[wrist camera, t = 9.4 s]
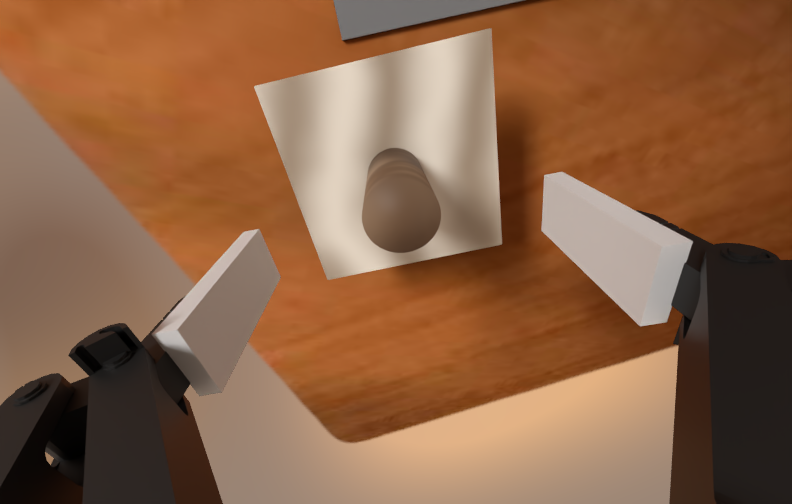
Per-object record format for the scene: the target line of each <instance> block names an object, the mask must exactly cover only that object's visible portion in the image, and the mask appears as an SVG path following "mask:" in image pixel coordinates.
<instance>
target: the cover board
mask: <svg viewBox="0 0 792 504" xmlns="http://www.w3.org/2000/svg"><path fill="white" fill-rule="evenodd" d="M254 88H255V90H256V93H257V96H258V98H259V101H260V104H261V106H262V109H263V111H264V114H265V117H266V119H267V122H268V125H269V127H270V130H271V132H272V135H273V138H274V140H275V143H276V146H277V148H278V151H279V153H280V156H281V159H282V161H283V164H284V167H285V169H286V172H287V174H288V177H289V180H290V182H291V185H292V188H293V190H294V193H295V195H296V198H297V201H298V203H299V206H300V209H301V211H302V214H303V216H304V219H305V222H306V224H307V227H308V230H309V232H310V235H311V237H312V240H313V243H314V245H315V248H316V251H317V253H318V256H319V258H320V261H321V264H322V266H323V269H324V272H325V274H326V277H327V279H328V280H330V279H335V278H340V277H345V276H350V275H355V274H360V273H365V272H369V271H374V270H379V269H384V268H389V267H394V266H399V265H404V264H409V263H414V262H419V261H424V260H429V259H433V258H438V257H443V256H448V255H453V254H458V253H463V252H468V251H473V250H478V249H483V248H488V247H493V246H498V245H502V232H501V212H500V192H499V172H498V152H497V132H496V112H495V92H494V72H493V52H492V32H491V28H490V29H486V30H481V31H477V32H473V33H469V34H465V35H461V36H457V37H453V38H449V39H445V40H441V41H437V42H433V43H428V44H424V45H420V46H416V47H412V48H408V49H404V50H400V51H396V52H392V53H388V54H384V55H380V56H375V57H371V58H367V59H363V60H359V61H355V62H351V63H347V64H343V65H339V66H335V67H331V68H327V69H322V70H318V71H314V72H310V73H306V74H302V75H298V76H294V77H290V78H286V79H282V80H278V81H274V82H269V83H265V84H261V85H257V86H254Z"/></svg>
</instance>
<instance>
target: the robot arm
mask: <svg viewBox="0 0 792 504" xmlns="http://www.w3.org/2000/svg"><path fill="white" fill-rule="evenodd" d="M542 232H543V233H545V234H546V235H547V236H548V237H549V238H550V239H551V240H552V241H553V242H554V243H555V244H556V245H557V246H558V247H559V248H560V249H561V250H562V251H563V252H564V253H565V254H566V255H567V256H568V257H569V258H570V259H571V260H572V261H573V262H574V263H575V264H576V265H577V266H578V267H580V268H581V269H582V270H583V271H584V272H585V273H586V274H587V275H588V276H589V277H590V278H591V279H592V280H593V281H594V282H595V283H596V284H597V285H598V286H599V287H600V288H601V289H602V290H603V291H604V292H605V293H606V294H607V295H608V296H609V297H610V298H611V299H612V300H613V301H615V302H616V303H617V304H618V305H619V306H620V307H621V308H622V309H623V310H624V311H625V312H626V313H627V314H628V315H629V316H630V317H631V318H632V319H633V320H634V321H635V322H636V323H637V324H638V325H639V326H646V325H653V324H659V323H665V322H667V320H668V317H669V314H670V311H671V308H672V306H673V307H674V308H676V309H677V310H678V311H680V312H681V313H682V314H683V317H682V320H681V323H680V326H679V328H678V331H677V334H676V337H675V340H674V343H673V344H676V345H678V344H679V349H678V366H677V383H676V400H675V419H674V435H673V436H674V437H673V453H672V454H673V455H672V470H671V487H670V504H792V260H780V259H779V258H778V257H777V256H776V255H775V254H773V253H771V252H769V251H767V250H764V249H761V248H758V247H755V246H750V245H744V244H736V243H722V244H715V245H713V244H711V243H709V242H707V241H705V240H703V239H701V238H699V237H697V236H695V235H693V234H691V233H689V232H687V231H685V230H683V229H682V228H681V229H679V227H678V226H676V225H674V224H672V223H668V221H666V220H664V219H662V218H660V217H658V216H656V215H653V214H649V213H646V212H642V211H635V210H633V209H631V208H629V207H627V206H626V205H624V204H622V203H620V202H618V201H616V200H614V199H612V198H610V197H609V196H607V195H605V194H603V193H601V192H599V191H597V190H595V189H594V188H592V187H590V186H588V185H586V184H584V183H582V182H580V181H578V180H577V179H575V178H573V177H571V176H569V175H567V174H565V173H563V172H558V173H553V174H547V175H544V192H543V212H542ZM280 278H281V277H280V274H279V272H278V270H277V268H276V265H275V263H274V261H273V259H272V256H271V254H270V252H269V250H268V247H267V245H266V243H265V241H264V238H263V236H262V234H261V232H260V229H256V230H251V231H246V232H243V233H242V234H241V235H240V236H239V238H238V239H237V240H236V241H235V242H234V243H233V244H232V245H231V246H230V248H229V249H228V250H227V251H226V252H225V253H224V254H223V255H222V256H221V258H220V259H219V260H218V261H217V262H216V263H215V264H214V265H213V266H212V268H211V269H210V270H209V271H208V272H207V273H206V274H205V275H204V276H203V278H202V279H201V280H200V281H199V282H198V283H197V284H196V285H195V286H194V288H193V289H192V290H191V291H190V292H189V293H188V294H187V295H186V296H185V297H183V298H182V299H181V300H179V301H178V302H177V303H176V304H175V306H174V307H173V308H172V309H171V310H170V312H168V313H167V314H166V315H165V317H164V318H163V320H161V321H160V322H159V323H158V324H157V325H156V326H155V327H154V329H153V330H152V331H151V332H150V333H149V334H148V335H147V336H146V337H145V338H144V340H143V341H142V342H140V341H139V340H138V338H137V337H136V336H135V335H134V334H133V333H132V331H131V330H130V329H129V327H128V326H127V325H126V324H124V323H118V324H114V325H110V326H107V327H105V328H102V329H100V330H98V331H96V332H94V333H92V334H91V335H89V336H88V337H86V338H84V339H83V340H82V341H80V342H79V343H78V344H77V345H76V346H75V347H74V348H73V349H72V350H71V352H70V353H69V356H70V357H71V358H72V359H73V360H74V361H75V362H76V363H77V364H78V365H79V366H80V367H81V368H82V369H83V370H84V371H85V372H86V373H87V374H88V375H89V377H87V378H84V379H81V380H79V381H76V382H73V383H71V384H70V383H69V382H68V381H67V380H66V379H65V378H64V377H63V376H61V375H60V374H58V373H56V374H49V375H47V376H43V377H41V378H39V379H37V380H34V381H31V382H29V383H27V384H25V386H24V387H23V386H22V387H20V388H19V389H17V390H16V391H15V393H14V394H12V395H11V396H10V397H8V398H7V399H6V400H5V401H4V402H3V404H2V405H1V406H0V504H223V503H222V500H221V497H220V494H219V491H218V488H217V485H216V481H215V479H214V475H213V473H212V469H211V466H210V463H209V460H208V457H207V454H206V451H205V448H204V445H203V442H202V439H201V436H200V433H199V430H198V427H197V424H196V421H195V418H194V415H193V412H192V409H191V406H190V402H189V401H188V400H187V398H186V397H185V396H184V393H185V391H186V389H187V388H188V387H189V385H191V386H192V387H193V388H194V390H195V391H196V392H197V393H198V394H199V396H203V395H209V394H215V393H222V391H223V389H224V387H225V385H226V383H227V381H228V379H229V378H230V376H231V374H232V372H233V370H234V368H235V366H236V364H237V362H238V360H239V358H240V356H241V354H242V352H243V350H244V348H245V346H246V344H247V342H248V340H249V338H250V337H251V335H252V333H253V331H254V329H255V327H256V325H257V323H258V321H259V319H260V317H261V315H262V313H263V311H264V309H265V307H266V305H267V303H268V301H269V299H270V297H271V295H272V293H273V291H274V290H275V288H276V286H277V284H278V282H279V280H280ZM45 452H46V453H48V454H49V455H51V456H52V457H53V458H54V460H53V462H52V464H51V465H50V464H49V463H48V462H47V460H46V457H45Z"/></svg>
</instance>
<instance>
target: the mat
mask: <svg viewBox="0 0 792 504" xmlns="http://www.w3.org/2000/svg"><path fill="white" fill-rule="evenodd" d="M520 1H525V0H334V5H335V9H336V14H337V18H338V23H339V27H340V32H341V36H342V40H343V41H344V40H348V39H353V38H357V37H362V36H366V35H371V34H375V33H380V32H385V31H389V30H394V29H398V28H403V27H407V26H412V25H416V24H421V23H425V22H430V21H434V20H439V19H443V18H448V17H452V16H457V15H462V14H466V13H471V12H475V11H480V10H484V9H489V8H493V7H498V6H502V5H507V4H511V3H516V2H520Z"/></svg>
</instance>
